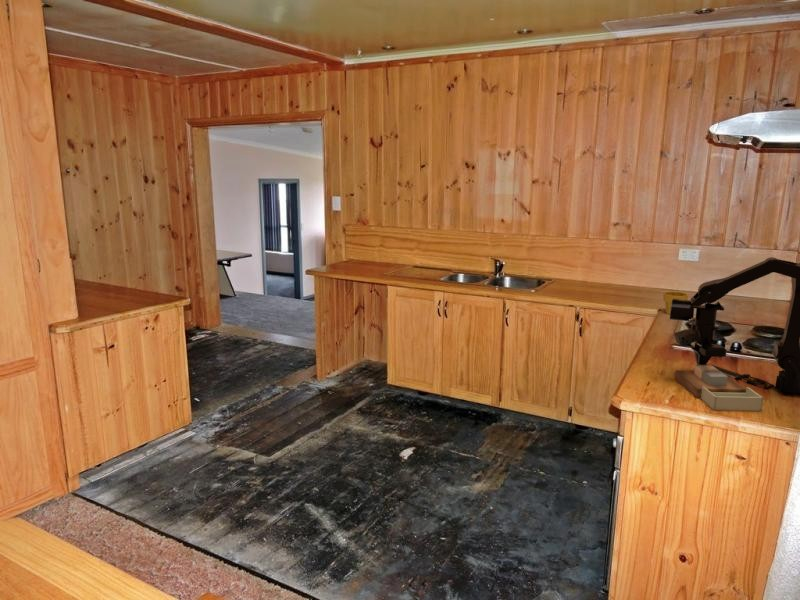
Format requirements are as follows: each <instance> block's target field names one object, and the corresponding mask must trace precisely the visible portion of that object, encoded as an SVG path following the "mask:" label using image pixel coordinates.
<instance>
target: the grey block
mask: <svg viewBox="0 0 800 600" xmlns="http://www.w3.org/2000/svg"><path fill="white" fill-rule="evenodd" d="M728 377H729V376H728ZM728 377H727V376H726V375H725V374H723V373H722V372H720V371H703V374H702V380H703V381H704V382H705V383H706V384H708V385H709V386H727V379H728Z"/></svg>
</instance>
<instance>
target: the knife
mask: <svg viewBox="0 0 800 600" xmlns="http://www.w3.org/2000/svg"><path fill="white" fill-rule="evenodd" d="M706 365H710V364H708V363H707V364H706ZM711 365H712V366H713V367H715V368H716V369H718V370H719V371H721V372H723V373H724V374H726V375H727V376H728V377H730V378H732V379H733V378H734V379H735V380H736V381H742V380H743V381H745V382H746V384H747V385H751V386H753V387H755V386H756V385H757V386H762V389H763V390H770V389H774V388H773V387H774V386H776V384H774V383H770V382H768V381H767V380H763V379H762V378H759V377H753V376H751V374H749V373H743V374H740V373H738V372H734V371H732V370H728V369H726V368H723V367H719V366H717V365H713V364H711ZM749 378H751V379H749ZM752 379H753V380H752ZM761 383H762V384H761Z"/></svg>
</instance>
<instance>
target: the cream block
mask: <svg viewBox="0 0 800 600" xmlns="http://www.w3.org/2000/svg"><path fill="white" fill-rule="evenodd" d="M712 365H713V364H709V365H697V364H694V370H693V371H694V374H695V375H696V376H698V377H699V378H700V379H702V374H703V371H719V370H718V369H716V368H715V367H713V366H712Z"/></svg>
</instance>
